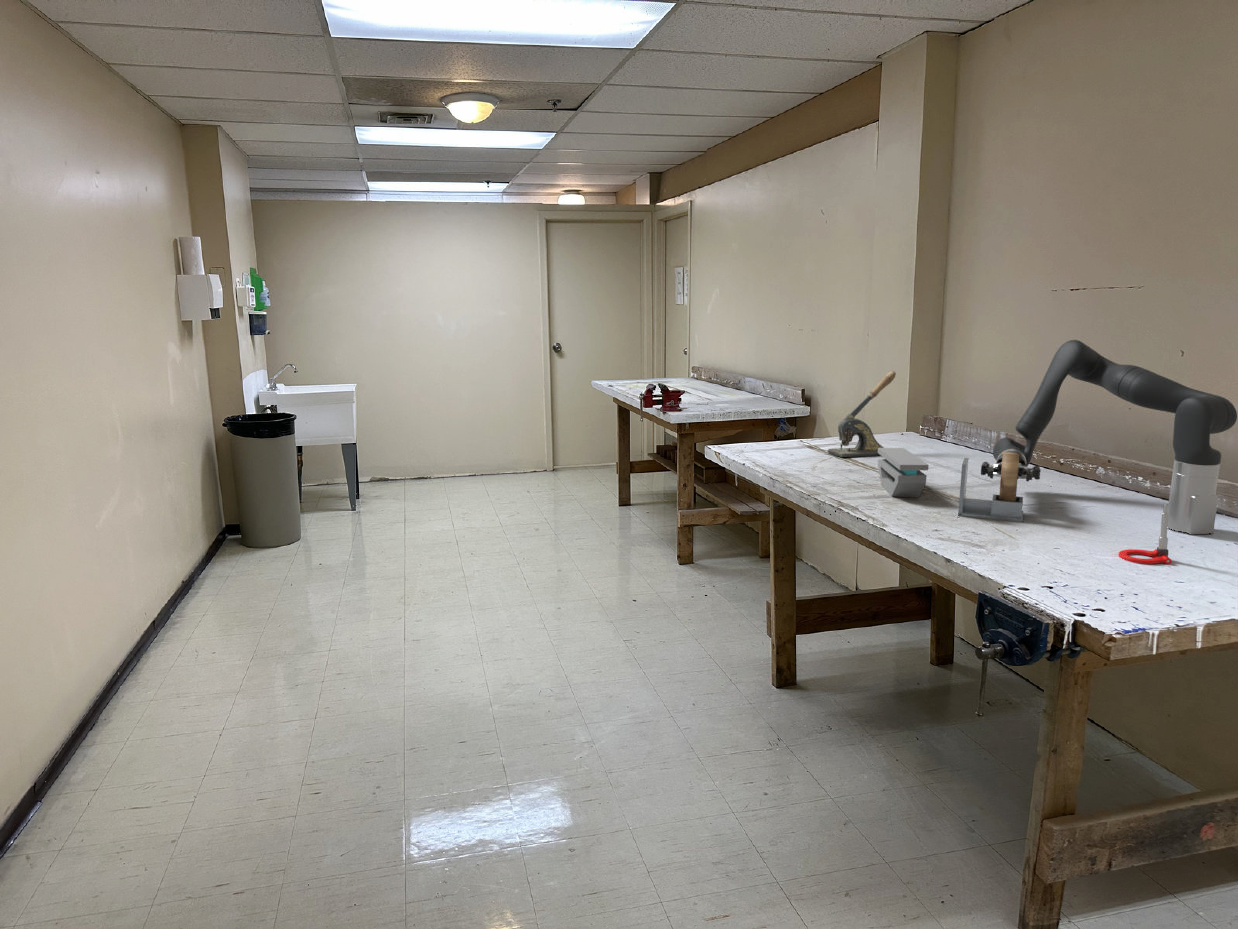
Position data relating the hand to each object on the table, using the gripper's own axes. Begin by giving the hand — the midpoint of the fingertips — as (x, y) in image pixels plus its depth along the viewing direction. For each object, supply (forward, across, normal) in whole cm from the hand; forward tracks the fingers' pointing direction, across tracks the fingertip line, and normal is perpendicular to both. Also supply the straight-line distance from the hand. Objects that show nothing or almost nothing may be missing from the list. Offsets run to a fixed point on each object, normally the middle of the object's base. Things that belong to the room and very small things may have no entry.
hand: (1009, 476), depth 214 cm
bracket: (-2, -4, +11) cm, 12 cm away
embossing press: (-72, -49, +12) cm, 88 cm away
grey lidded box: (-18, -29, +12) cm, 36 cm away
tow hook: (+23, +28, +12) cm, 39 cm away
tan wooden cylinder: (-2, 0, +10) cm, 11 cm away
